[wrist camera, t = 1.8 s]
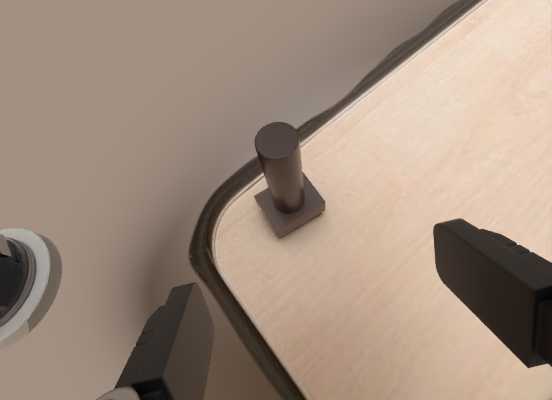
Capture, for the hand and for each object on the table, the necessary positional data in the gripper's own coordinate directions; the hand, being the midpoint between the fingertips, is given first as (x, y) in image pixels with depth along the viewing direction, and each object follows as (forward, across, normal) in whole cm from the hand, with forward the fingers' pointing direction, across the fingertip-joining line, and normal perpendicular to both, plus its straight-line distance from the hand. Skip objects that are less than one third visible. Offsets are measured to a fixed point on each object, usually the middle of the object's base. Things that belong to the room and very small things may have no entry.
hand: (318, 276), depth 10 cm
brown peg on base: (+18, 0, +5) cm, 19 cm away
